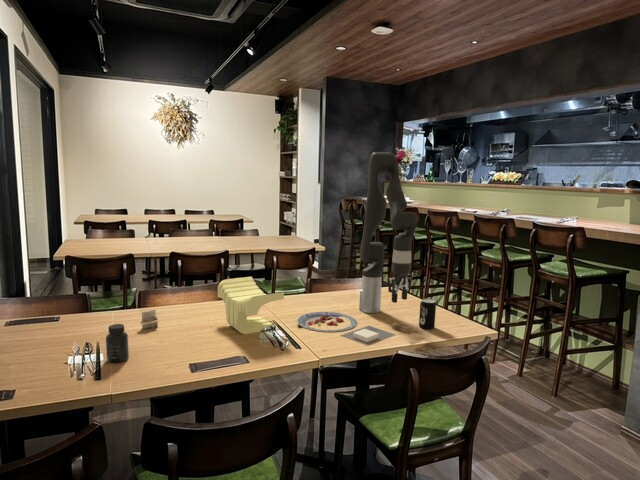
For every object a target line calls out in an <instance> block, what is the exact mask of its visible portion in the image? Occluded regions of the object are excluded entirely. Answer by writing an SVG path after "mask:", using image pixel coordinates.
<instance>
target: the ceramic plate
mask: <svg viewBox="0 0 640 480" xmlns="http://www.w3.org/2000/svg"><path fill="white" fill-rule="evenodd" d="M341 317H342V318H341ZM343 318H344V319H347V320H349V321H350V325H349V326H347V327H344V328H339V329H338V328H337V329H321V328H314V327H310V326H313V325H318V326H319V327H321V326H322V325H323V324H324V323H325V324H326V326H327V327H328V326H329V327H333V326H334V327H338V326H339V324H342V323H344V322H345V320H344V319H343ZM330 320H331V321H330ZM296 322H297V324H298V326H300V327H302V328H304V329H307V330H310V331H314V332H321V333H322V332H323V333H337V332H338V333H339V332H344V331H348V330H351V329H353V328H355V327H356V326H357V324H358V321H357V320H356V318H355V317H352V316H351V315H349V314H345V313H342V312H335V311H334V312H332V311H314V312H309V313H305V314H302V315H300V316H299V317H297V320H296Z"/></svg>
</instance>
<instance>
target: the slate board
mask: <svg viewBox="0 0 640 480" xmlns="http://www.w3.org/2000/svg"><path fill="white" fill-rule="evenodd" d="M363 329H367V330H370V331H373V332H376V333H379V338H378V339H376V340H373V341H370V342H368V343H366V342H363V341H361V340H358V339H355V338H353V333H354V332H357V331H360V330H363ZM396 335H397V334H396V333H393V332H389V331H386V330H383V329H379V328H378V327H373V326H371V325H367V326H363V327H361V328H358V329H355V330H352V331H349V332H345V333H343V334H341V335H340V337H343V338H346V339H348V340H351V341H354V342H356V343H359V344H361V345H364V346H367V347H368V346H370V345H374V344H376V343H379V342H380V341H384V340H386V339H389V338H391V337H394V336H396Z"/></svg>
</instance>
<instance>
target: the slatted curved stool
mask: <svg viewBox="0 0 640 480" xmlns="http://www.w3.org/2000/svg"><path fill="white" fill-rule="evenodd" d="M217 298H220V299H222V300H223V303H224V304H225V305H224V308H225V314H226V316H225V317H226V322H227V324H228V325H230V326H231V327H232V328H234V329H235V330H237V332H239V334H240V333H241V334H242V335H247V334H255V333H259V332H261V331H260V330H261V329H263V328H265V327H269V326H273V325H274V324H273V323H272V322H269V321H268V320H267V319H266V318H264V317H263V316H257V315H258V313H259V310H260V309H261V307H262V306H264V305H266V304H268V303H271V302H274V301H275V302H277V301H281V300H285V291H283V292H281V291H280V292H276V293H267V294H266V293H264V291H263V290H262V289H260V287H259V285H257V283H256V282H255V280H254V278H253V276H245V277H235V278H227V279H223V280H221V281H220V282H219V284H218V286H217ZM253 316H254V317H253ZM255 316H257V317H255ZM273 327H274V326H273Z"/></svg>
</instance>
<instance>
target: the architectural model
mask: <svg viewBox="0 0 640 480" xmlns="http://www.w3.org/2000/svg"><path fill="white" fill-rule="evenodd" d="M156 315H157V314H156V309H152V310H146V311H145V310H144V311H141V320H140V321H139V324H141V329H148V328H152V329H154V327H156V326H157V327H156V328H158V327H159V323H158V322H159V320H158V317H157V316H156Z"/></svg>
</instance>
